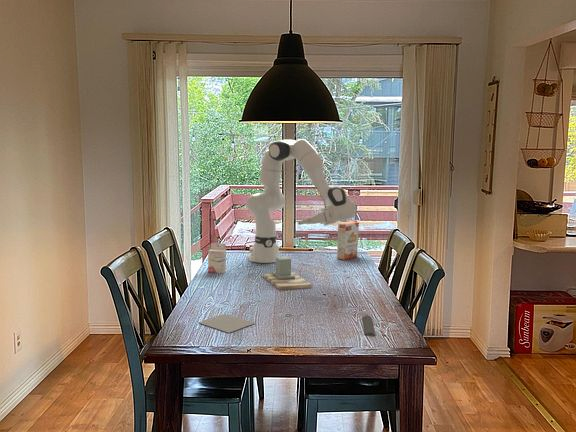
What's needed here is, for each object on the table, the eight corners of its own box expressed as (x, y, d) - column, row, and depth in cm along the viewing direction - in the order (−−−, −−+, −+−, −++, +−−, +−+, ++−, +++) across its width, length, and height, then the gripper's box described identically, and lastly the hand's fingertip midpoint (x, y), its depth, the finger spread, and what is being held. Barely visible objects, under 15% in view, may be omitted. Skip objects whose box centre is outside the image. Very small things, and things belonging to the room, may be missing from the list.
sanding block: (271, 273, 283) (271, 255, 281) (286, 272, 285) (286, 254, 284) (279, 279, 272) (279, 260, 270) (294, 278, 274) (295, 259, 273)
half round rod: (372, 319, 221) (372, 315, 221) (376, 337, 202) (376, 332, 202) (361, 319, 221) (361, 315, 221) (364, 337, 202) (364, 332, 202)
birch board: (263, 276, 283) (263, 273, 283) (292, 274, 289) (292, 271, 289) (279, 290, 259) (279, 286, 259) (311, 287, 265) (311, 284, 264)
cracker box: (345, 260, 323) (346, 224, 320) (336, 258, 327) (337, 223, 323) (358, 256, 334) (359, 221, 331) (349, 255, 337) (350, 220, 334)
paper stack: (240, 309, 230) (240, 308, 230) (287, 323, 215) (288, 321, 215) (197, 324, 212) (197, 322, 212) (245, 340, 197) (245, 338, 197)
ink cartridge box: (207, 272, 290) (207, 244, 287) (210, 270, 295) (210, 242, 292) (224, 273, 289) (224, 245, 287) (226, 271, 294) (226, 243, 292)
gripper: (320, 211, 291) (295, 217, 290) (327, 209, 271) (300, 216, 269) (323, 222, 291) (298, 229, 290) (331, 222, 271) (303, 229, 269)
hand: (299, 223), depth 279 cm, fingers open, 8 cm apart
